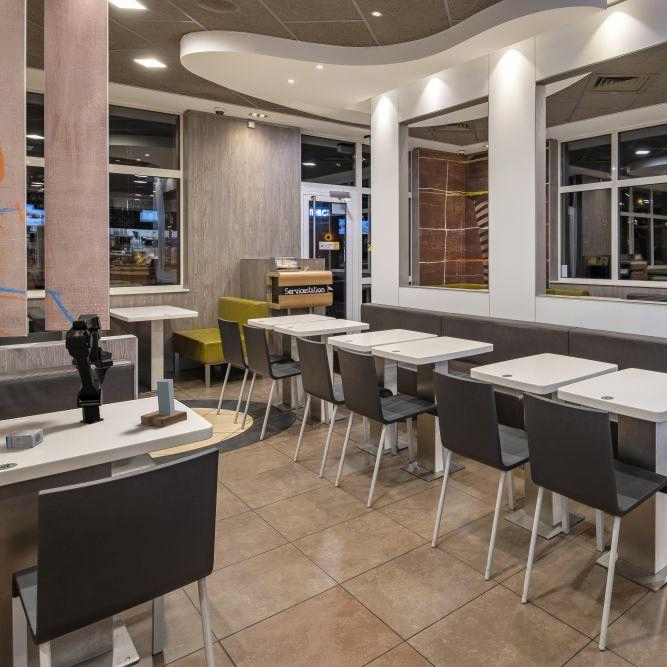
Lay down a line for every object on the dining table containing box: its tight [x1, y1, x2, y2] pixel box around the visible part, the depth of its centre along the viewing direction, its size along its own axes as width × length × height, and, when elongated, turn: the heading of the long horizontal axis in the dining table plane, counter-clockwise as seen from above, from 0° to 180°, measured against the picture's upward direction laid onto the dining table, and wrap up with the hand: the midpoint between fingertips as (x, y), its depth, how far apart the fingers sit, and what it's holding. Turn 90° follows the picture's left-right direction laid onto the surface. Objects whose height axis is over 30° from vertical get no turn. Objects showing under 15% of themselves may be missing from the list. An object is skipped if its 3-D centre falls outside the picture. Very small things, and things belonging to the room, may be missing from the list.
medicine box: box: [5, 428, 44, 450], centre depth 187 cm, size 8×4×9 cm
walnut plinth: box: [140, 409, 188, 428], centre depth 212 cm, size 12×12×3 cm
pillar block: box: [156, 378, 176, 415], centre depth 211 cm, size 4×4×13 cm
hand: (94, 383), depth 225 cm, fingers open, 9 cm apart
